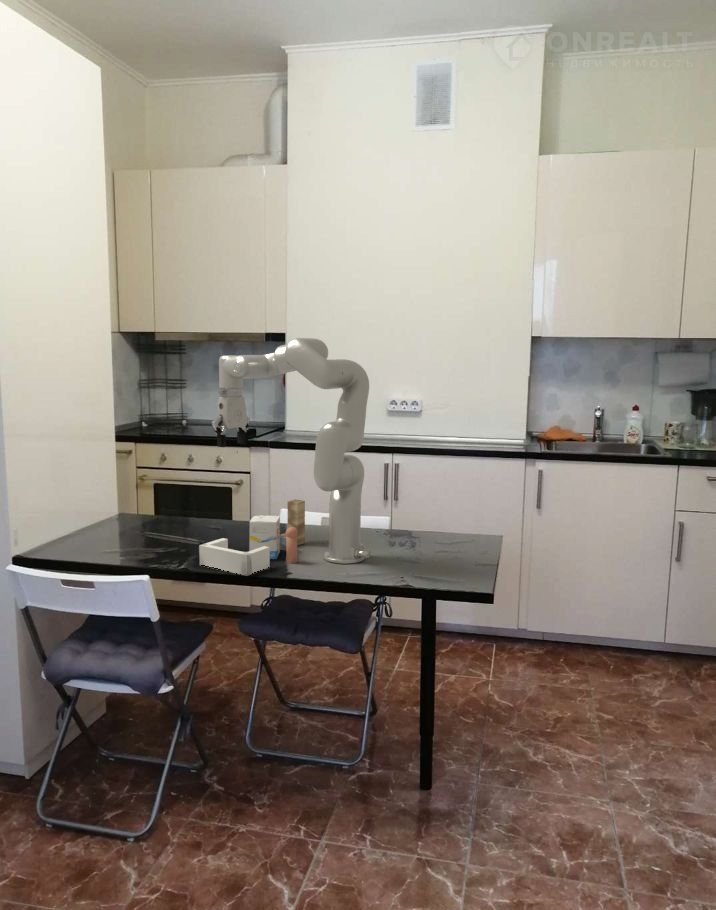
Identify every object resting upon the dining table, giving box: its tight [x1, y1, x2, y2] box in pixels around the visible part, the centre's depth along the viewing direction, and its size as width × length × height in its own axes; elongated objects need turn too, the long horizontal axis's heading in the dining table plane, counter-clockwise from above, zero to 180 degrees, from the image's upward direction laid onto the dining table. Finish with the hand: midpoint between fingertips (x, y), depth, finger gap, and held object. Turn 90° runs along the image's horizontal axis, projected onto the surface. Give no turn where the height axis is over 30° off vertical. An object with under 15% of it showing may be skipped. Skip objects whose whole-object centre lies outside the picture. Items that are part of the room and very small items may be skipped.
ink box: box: [248, 514, 281, 560], centre depth 222 cm, size 9×8×12 cm
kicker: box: [280, 498, 306, 551], centre depth 232 cm, size 10×11×14 cm
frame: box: [198, 537, 271, 577], centre depth 210 cm, size 18×10×6 cm, turn 58°
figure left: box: [285, 527, 298, 564], centre depth 215 cm, size 4×4×11 cm
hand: (231, 445), depth 239 cm, fingers open, 9 cm apart
